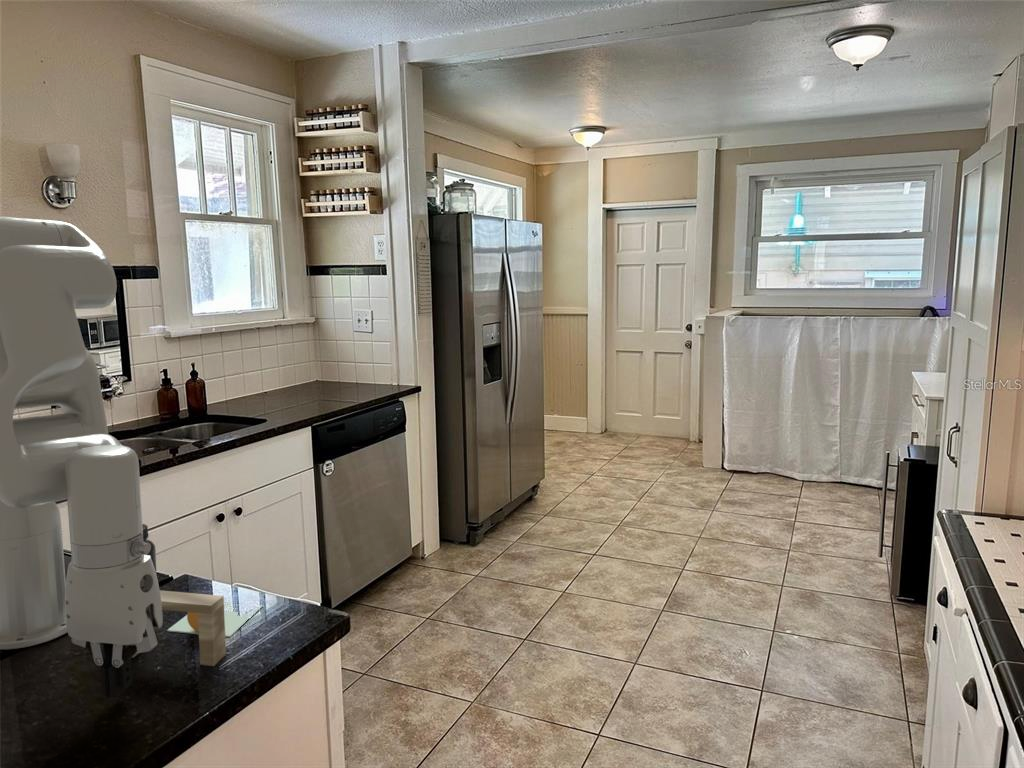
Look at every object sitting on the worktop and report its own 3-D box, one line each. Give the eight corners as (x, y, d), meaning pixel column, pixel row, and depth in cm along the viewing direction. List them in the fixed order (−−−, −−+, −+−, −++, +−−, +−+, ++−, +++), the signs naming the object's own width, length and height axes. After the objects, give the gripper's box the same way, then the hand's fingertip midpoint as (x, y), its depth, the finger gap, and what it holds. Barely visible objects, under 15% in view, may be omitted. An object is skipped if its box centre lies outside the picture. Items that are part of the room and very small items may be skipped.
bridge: (213, 666, 95) (211, 605, 94) (120, 656, 97) (116, 597, 95) (225, 654, 98) (223, 595, 96) (134, 645, 100) (131, 587, 98)
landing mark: (167, 631, 104) (167, 630, 104) (205, 601, 114) (205, 600, 114) (230, 637, 102) (229, 636, 102) (263, 606, 112) (263, 605, 112)
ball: (185, 594, 103) (204, 595, 108) (176, 629, 101) (196, 629, 106) (215, 599, 102) (233, 599, 107) (206, 635, 100) (225, 633, 105)
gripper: (184, 542, 86) (191, 680, 89) (75, 534, 88) (85, 668, 91) (144, 566, 79) (153, 715, 82) (26, 556, 81) (39, 702, 84)
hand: (117, 690), depth 86 cm, fingers closed
